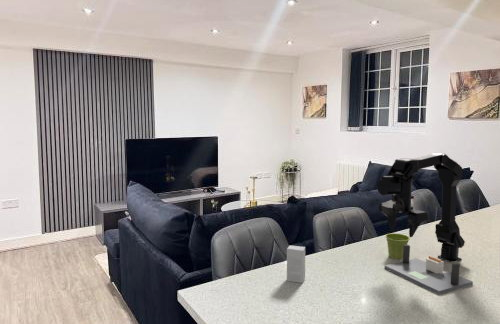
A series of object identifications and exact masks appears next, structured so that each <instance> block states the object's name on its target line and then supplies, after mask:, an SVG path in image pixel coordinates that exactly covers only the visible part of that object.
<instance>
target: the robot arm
mask: <svg viewBox="0 0 500 324" xmlns="http://www.w3.org/2000/svg"><path fill="white" fill-rule="evenodd" d="M430 167H433V168H434V169H435V170H436V172H437V176H438V180H439V181H440V183H441V185H442V188H441V189H442V190H441V191H442V194H441V195H442V196H441V219H440V220H439V222H438V223H436V224H435V230H434V234H435V237H436V238H437V239H436V240H437V243H440V244H441V248H440V255H437V258H438V259H440V260H444V261H447V262H449V263H456V262H459V261H462V259H463V258H461V257H459V253H460V252H459V250H460V249H462V248H463V247H465V243H466V241H465V239H464V238H463V237H462V236H461V233H460V227H459V225H458V223H457V221H456V212H457V211H456V210H457V209H456V208H457V186H458V184H459V183H460V182H461V180H462V177H463V167H462V165H460V164H458V162H457V161H455V160H453V159H452V158H450V157H449V155H448V154H446V153H441V152H434V153H431V154H427V155H424V156H418V157H415V158H403V157H402V158H399V157H398V158H396V159H394V162H393V164H392V165H391V168H390V169H389V171H388V173H387V174H386V175H382V176H381V179H379V181H378V182H377V185H376V189H377V192H378V194H379V195H381V196H389V195H391V199H390V200H387V201H385V202H381V203H380V204H379V205H378V211H380V212H381V214H383V215H384V216H385V217H386V219H387V223H388V227H389V229H390V231H394V230H395V226H396V220H397V216H398V213H399V214H402V215H405V216H407V218H408V219H407V223H408V225H409V226H408V227H409V229H408V233H409V234H408V237H409V238H413V237H414V235H415V233H416V232H417V230H418V228H419V227H420V226H421V224H422V223H424V222H426V221H428V220H429V213H428V212H427V211H424V210H421V209H416V210H415V209H414V206H412V199H414V197H415V196H414V195H412V193H413V192H412V189H413V181H417V178H416V177H415V176H414V175H415V174H417V173H419V170H423V169H426V168H430Z"/></svg>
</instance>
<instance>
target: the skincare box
mask: <svg viewBox="0 0 500 324" xmlns="http://www.w3.org/2000/svg"><path fill="white" fill-rule="evenodd" d="M305 280H306V246H301V245H300V246H299V245H298V246H297V245H288V247H287V248H286V281H287V282H290V283H299V284H304V281H305Z"/></svg>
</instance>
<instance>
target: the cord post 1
mask: <svg viewBox="0 0 500 324" xmlns="http://www.w3.org/2000/svg"><path fill="white" fill-rule="evenodd" d="M410 254H411V245H410V244H407V245H406V244H405V245H403V258H402V261H403V263H404V264H409V260H410V257H411V256H410Z"/></svg>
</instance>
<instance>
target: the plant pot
mask: <svg viewBox="0 0 500 324" xmlns="http://www.w3.org/2000/svg"><path fill="white" fill-rule="evenodd" d="M385 238H386V241H387V250H388V257H389V258H392V259H394V260H403V245H405V244H406V245H408V243H409V241H410V238H411V237H409V235H406V234H403V233H394V232H393V233H387V234H385Z"/></svg>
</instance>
